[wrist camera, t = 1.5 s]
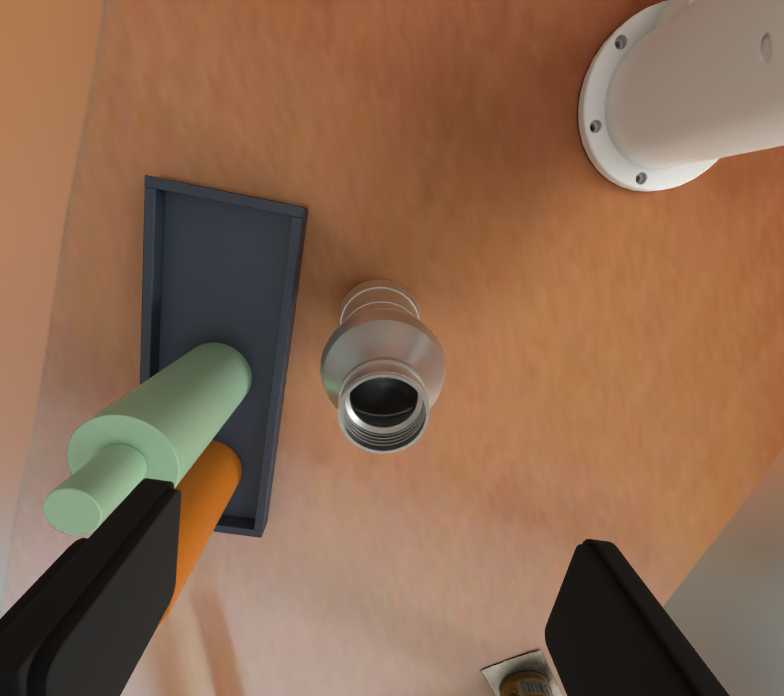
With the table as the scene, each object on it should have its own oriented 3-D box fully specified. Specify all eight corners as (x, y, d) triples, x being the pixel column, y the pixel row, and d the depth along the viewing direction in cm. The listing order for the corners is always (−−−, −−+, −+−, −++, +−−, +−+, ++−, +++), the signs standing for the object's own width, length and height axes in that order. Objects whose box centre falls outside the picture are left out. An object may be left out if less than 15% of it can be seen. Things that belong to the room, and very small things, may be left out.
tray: (159, 177, 32) (144, 174, 30) (308, 208, 33) (303, 207, 31) (148, 506, 40) (136, 521, 38) (266, 522, 41) (261, 538, 39)
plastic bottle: (338, 275, 35) (291, 339, 15) (419, 274, 35) (470, 335, 16) (342, 349, 36) (303, 487, 17) (418, 347, 37) (464, 482, 17)
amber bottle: (178, 435, 38) (11, 613, 20) (245, 445, 38) (136, 627, 21) (175, 490, 39) (18, 698, 22) (239, 499, 40) (134, 709, 23)
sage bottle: (184, 336, 35) (-3, 445, 18) (255, 348, 36) (140, 466, 18) (180, 400, 37) (6, 556, 19) (248, 411, 37) (137, 572, 20)
